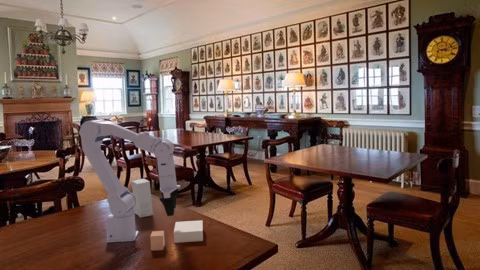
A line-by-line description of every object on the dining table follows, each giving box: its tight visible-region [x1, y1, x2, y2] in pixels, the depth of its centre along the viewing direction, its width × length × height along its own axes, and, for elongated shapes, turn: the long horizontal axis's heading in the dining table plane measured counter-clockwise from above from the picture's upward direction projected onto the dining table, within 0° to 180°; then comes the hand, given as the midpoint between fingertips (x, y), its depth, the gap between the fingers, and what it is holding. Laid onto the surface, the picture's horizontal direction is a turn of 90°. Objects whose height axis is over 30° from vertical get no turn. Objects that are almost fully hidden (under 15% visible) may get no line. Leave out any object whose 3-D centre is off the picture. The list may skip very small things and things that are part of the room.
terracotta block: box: [150, 230, 166, 251], centre depth 114 cm, size 4×4×5 cm
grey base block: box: [173, 220, 204, 244], centre depth 123 cm, size 10×10×4 cm
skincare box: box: [131, 178, 154, 218], centre depth 146 cm, size 8×6×15 cm
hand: (171, 211), depth 121 cm, fingers open, 7 cm apart
